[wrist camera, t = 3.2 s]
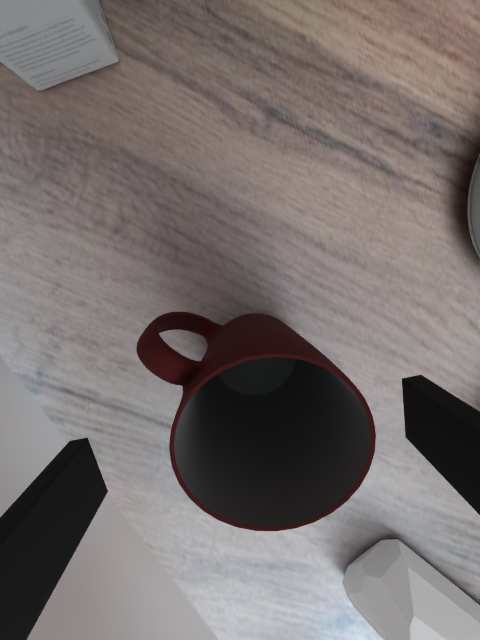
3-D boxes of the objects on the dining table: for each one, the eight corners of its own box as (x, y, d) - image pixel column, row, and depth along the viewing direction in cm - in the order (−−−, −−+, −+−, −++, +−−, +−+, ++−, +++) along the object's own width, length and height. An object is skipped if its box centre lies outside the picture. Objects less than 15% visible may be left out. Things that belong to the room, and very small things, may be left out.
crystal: (325, 623, 24) (479, 727, 28) (402, 643, 20) (572, 763, 24) (330, 528, 30) (457, 626, 34) (390, 527, 25) (529, 640, 29)
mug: (148, 342, 22) (64, 427, 11) (214, 255, 20) (191, 254, 9) (261, 422, 24) (283, 560, 13) (329, 347, 22) (418, 434, 11)
